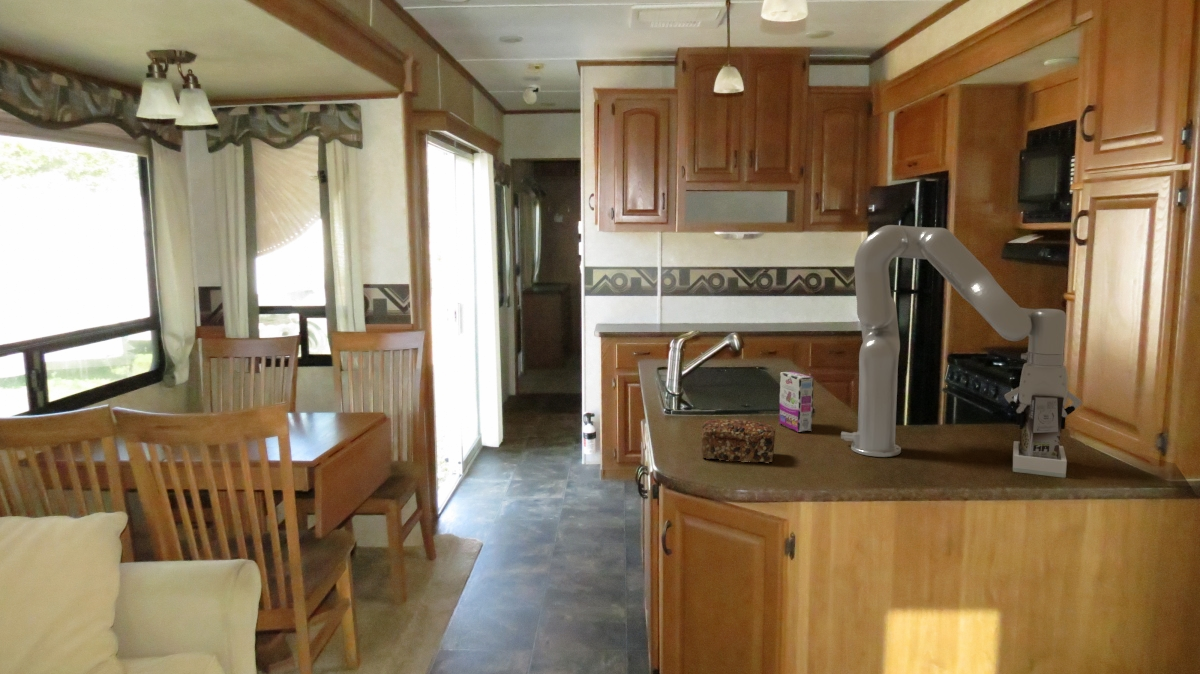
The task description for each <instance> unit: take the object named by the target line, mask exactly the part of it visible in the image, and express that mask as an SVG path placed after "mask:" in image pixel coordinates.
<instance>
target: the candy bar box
mask: <svg viewBox="0 0 1200 674" xmlns="http://www.w3.org/2000/svg"><path fill="white" fill-rule="evenodd" d="M813 408H814V377H813V376H810V375H806V374H803V373H800V372H796V371H793V370H791V371H782V372H780V373H779V410H778V411H779V415H778V416H779V418H778V424H779V423H781V424H783V425H785V426H787V427H789V428H791V429H793V430H795V431H794V432H796V431H797V432H796V433H798V432H802V433H806V432H805V431H811V432H812V431H813ZM787 427H786V428H787ZM789 428H788V429H789ZM791 429H790V430H791ZM793 430H792V431H793Z"/></svg>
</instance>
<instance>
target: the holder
mask: <svg viewBox="0 0 1200 674" xmlns="http://www.w3.org/2000/svg"><path fill="white" fill-rule="evenodd" d="M1019 445H1020V440H1019V441H1016V440H1014V441H1013V447H1012V448H1013V449H1012V472H1015V473H1023V474H1029V475H1038V476H1039V475H1040V476H1047V477H1054V478H1055V477H1056V478H1062V479H1064V478H1066V477H1067V465H1068V462H1067V461H1068V460H1067V456H1066V453H1065V447H1064V446H1063V445H1059V455H1058V459H1049V458H1040V457H1031V456H1025V455H1024V454H1022V453H1021V452H1020V451H1019Z"/></svg>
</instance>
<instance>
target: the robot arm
mask: <svg viewBox="0 0 1200 674" xmlns="http://www.w3.org/2000/svg"><path fill="white" fill-rule="evenodd" d="M894 258H906V259H917V260H927V261H928V262H929V264H930V265H932V266H933V267H934V269H936V270H937V271H938V272H939V274H940V275H941V276H942V277H943V279H945V280H946V281H947V282H948V283H949V285H951V286H952V287H953V288H954V290H955V291H956V292H957V293H958V294H959V295H960V296H961V298H963V299H964V300H965V301H967V302H968V303H969V304H970V305H971V306H972V307H973V308H974V309H975V310H976V311H977V313H979V315H980V316H981V317H982V318H983V319H985V321H986V322H987V323H988V324H989V325H990V326H991V327H992V329H993V330H995V332H997V334H999V336H1001V338H1002V339H1005V340H1007V341H1011V342H1018V341H1022V340H1024V339H1026V338H1027V337H1028V343H1027V344H1028V346H1027V352H1026V353H1025V352H1024V353H1020V359H1021V360H1025V361H1026V362H1025V363H1024V364H1023V365H1022V368H1021V369H1022V370H1021V375H1020V380H1019V381H1020V382H1019V386H1018V387H1016V388H1014V389H1012V390H1009V392H1008V391H1007V392H1006V393H1005V394H1004V399H1005V400H1006V402H1007V403H1008V404H1009V406H1011V408H1012V409H1014V410H1015V412H1016V415H1017V416H1016V425H1017V426H1019V430H1020V429H1023V421H1024V412H1023V410H1024V408H1025V407H1026V406H1027V405H1031V398H1032V395H1038V396H1056V397H1063V398H1064V399H1063V408H1062V420H1061V431H1060V434H1062V430H1065V428H1066V418H1067V417H1068V416H1069V415H1071V414H1072V413H1073V412H1074V411H1075V410H1076V409H1077V408H1079V407H1080V406H1081V405H1082V400H1081V399H1080V398H1078V397H1077V396H1076V395H1075V394H1073V393H1072V392H1070V391H1069V390H1068V386H1069V385H1068V384H1069V383H1068V370H1067V367H1066V365H1064V353H1065V340H1066V326H1067V314H1066V311H1064V310H1062V309H1057V308H1025V307H1021V306H1019V304H1017V303H1016V302H1015V301H1014V300H1013V298H1011V296H1010V295H1009V294H1008V293H1007V292H1006V291H1005V290H1004V289H1003V287H1001V285H999V283H998V282H997V280H996V279H995V278H994V276H993V275H992V273H991V271H989V270H988V269H987V267H986V266H984V264H982V263H981V261H980V260H978V258H977V257H975V256H974V254H973V253H972V252H971V251H970V250H969V249H968V248H967V247H966V246H965V245H964V244H963V243H962V242H961V241H960V240H959V238H957V237H956V236H955V235H954V233H952V232H951V231H950V230H949V229H947V228H945V227H927V226H926V227H925V226H923V227H922V226H913V225H912V226H908V225H898V224H896V225H895V224H887V225H883V226H881V227H879V228H877V229H876V230H874V231H873V232H871V233H870V234H868V236H867V237H865V238H864V240H863V241H862V242H861V243H860V245H859V246H858V248H857V251H856V254H855V257H854V266H853V269H854V280H855V281H854V283H855V286H854V287H855V294H856V295H855V296H856V314H857V318H858V320H859V322H860V326H861V327H860V328H861V337H862V343H861V346H860V349H859V353H858V355H859V356H858V359H859V360H858V369H859V370H858V372H859V373H858V374H859V375H858V376H859V377H858V379H859V380H858V413H857V415H858V416H857V431H853V432H848V431H841V433H840V439H842V440H843V441H846V442H849V441H850V442H852V443H851V445H850V449H851V451H853V452H855V453H856V454H859V455H863V456H867V457H873V458H874V457H877V458H888V457H890V458H891V457H895V456H898V455H899V454H901V453H902V447H901V446H900V445H898V444H896V427H897V426H896V425H897V424H896V423H897V402H898V401H897V399H898V397H897V395H898V376H899V373H898V371H899V370H898V368H899V356H900V350H901V341H900V332H899V324H898V323H899V322H898V312H897V306H896V305H897V304H896V301H895V299H894V298H893V297H892V293H891V284H890V282H891V281H890V279H891V278H890V271H889V269H890V268H889V266H890V264H891V261H892V259H894ZM1017 395H1018V400H1019V404H1018V403H1017V402H1016V400H1014V399H1013V397H1014V396H1017ZM1068 399H1069V400H1070V401H1072V403H1071V404H1070V405H1069V406H1067V401H1068ZM1066 406H1067V407H1066Z"/></svg>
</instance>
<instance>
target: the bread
mask: <svg viewBox="0 0 1200 674" xmlns="http://www.w3.org/2000/svg"><path fill="white" fill-rule="evenodd" d="M775 439H776V429H775V428H774V426H773V425H771V424H770V423H763V422H761V421H758V422H757V421H753V420H750V419H748V420H747V419H736V418H735V419H731V418H730V419H729V418H727V419H719V418H710V419H707V421H704V422H703V424H702V431H701V453H702V459H704V458H706V459H705V460H707V459H709V460H710V459H713V460H716V459H719V460H718V461H721V460H730V461H729V462H732V461H748V462H749V461H750V462H751V463H758V462H772V463H773V459H774V458H773V457H774V450H775V443H776V440H775Z"/></svg>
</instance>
